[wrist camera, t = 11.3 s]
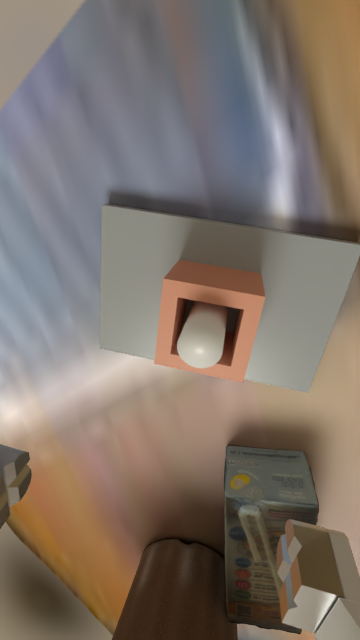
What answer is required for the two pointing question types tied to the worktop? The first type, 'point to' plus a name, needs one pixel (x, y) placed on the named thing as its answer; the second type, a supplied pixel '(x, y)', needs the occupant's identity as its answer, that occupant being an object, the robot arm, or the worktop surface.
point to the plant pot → (177, 595)
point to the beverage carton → (261, 528)
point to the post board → (234, 247)
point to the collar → (214, 289)
